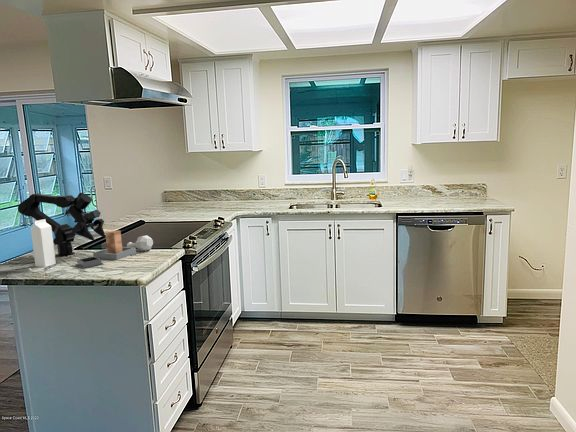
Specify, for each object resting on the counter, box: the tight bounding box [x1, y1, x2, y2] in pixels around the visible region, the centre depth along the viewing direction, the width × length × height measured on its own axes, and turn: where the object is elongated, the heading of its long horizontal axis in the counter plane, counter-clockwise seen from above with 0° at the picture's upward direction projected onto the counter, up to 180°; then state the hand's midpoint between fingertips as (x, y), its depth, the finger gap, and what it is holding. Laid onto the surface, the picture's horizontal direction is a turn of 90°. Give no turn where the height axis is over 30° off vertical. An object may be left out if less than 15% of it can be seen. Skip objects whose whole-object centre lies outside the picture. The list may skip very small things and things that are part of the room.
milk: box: [30, 219, 57, 268], centre depth 200 cm, size 6×6×22 cm
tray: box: [92, 246, 137, 261], centre depth 215 cm, size 14×14×4 cm
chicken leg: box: [126, 235, 154, 252], centre depth 229 cm, size 8×18×8 cm, turn 58°
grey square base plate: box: [74, 256, 105, 270], centre depth 199 cm, size 10×10×3 cm
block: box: [104, 229, 123, 254], centre depth 214 cm, size 5×5×12 cm
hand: (99, 238), depth 216 cm, fingers open, 9 cm apart
